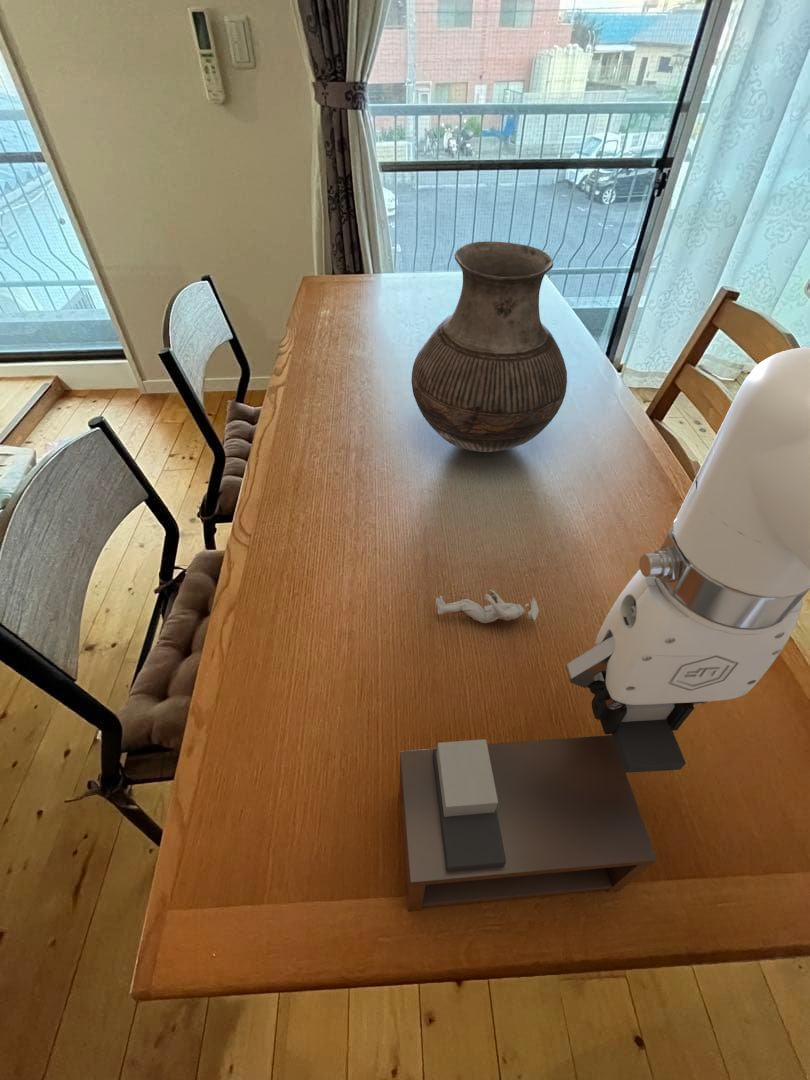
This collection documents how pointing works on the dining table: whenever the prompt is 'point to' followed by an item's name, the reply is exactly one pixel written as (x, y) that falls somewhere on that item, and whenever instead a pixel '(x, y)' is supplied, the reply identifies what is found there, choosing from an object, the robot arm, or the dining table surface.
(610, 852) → the shoe rack
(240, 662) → the dining table surface
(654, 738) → the right slipper
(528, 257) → the vase
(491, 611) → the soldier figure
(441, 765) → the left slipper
